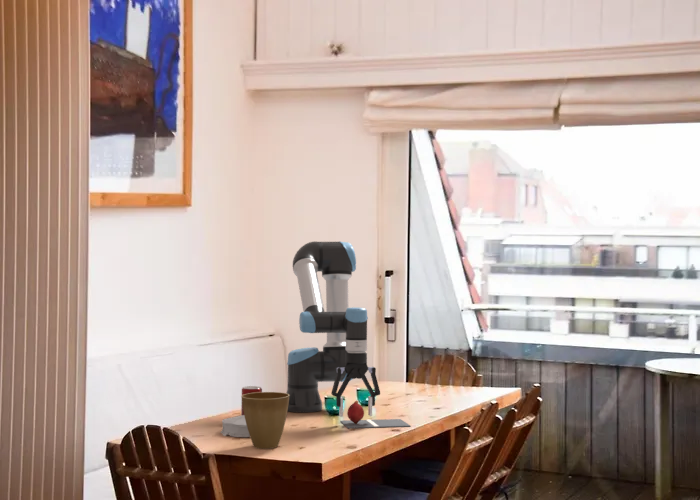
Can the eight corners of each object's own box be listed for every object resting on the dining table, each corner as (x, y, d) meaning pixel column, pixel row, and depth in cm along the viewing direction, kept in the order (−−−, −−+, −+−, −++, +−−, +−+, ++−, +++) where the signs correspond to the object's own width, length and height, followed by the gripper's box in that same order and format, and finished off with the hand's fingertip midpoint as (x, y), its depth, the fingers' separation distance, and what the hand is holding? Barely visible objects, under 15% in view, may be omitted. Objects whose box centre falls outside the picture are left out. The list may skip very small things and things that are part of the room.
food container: (213, 430, 340) (213, 410, 340) (270, 426, 346) (270, 406, 346) (226, 442, 321) (226, 420, 321) (286, 437, 328) (286, 416, 328)
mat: (348, 428, 343) (348, 427, 343) (340, 421, 356) (340, 420, 356) (410, 426, 347) (410, 425, 347) (400, 420, 361) (400, 418, 361)
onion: (350, 425, 347) (351, 402, 347) (344, 422, 352) (345, 399, 352) (366, 424, 349) (366, 401, 349) (360, 421, 354) (360, 399, 354)
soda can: (237, 422, 354) (238, 388, 354) (246, 419, 360) (247, 385, 361) (256, 423, 351) (256, 389, 351) (265, 420, 358) (265, 386, 358)
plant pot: (268, 440, 320) (269, 390, 320) (298, 447, 309) (299, 395, 309) (231, 446, 310) (231, 394, 310) (260, 453, 299) (261, 399, 299)
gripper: (326, 353, 344) (326, 418, 344) (389, 352, 349) (389, 416, 349) (322, 351, 352) (322, 414, 352) (384, 350, 356) (384, 413, 356)
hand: (355, 415), depth 350 cm, fingers open, 10 cm apart
